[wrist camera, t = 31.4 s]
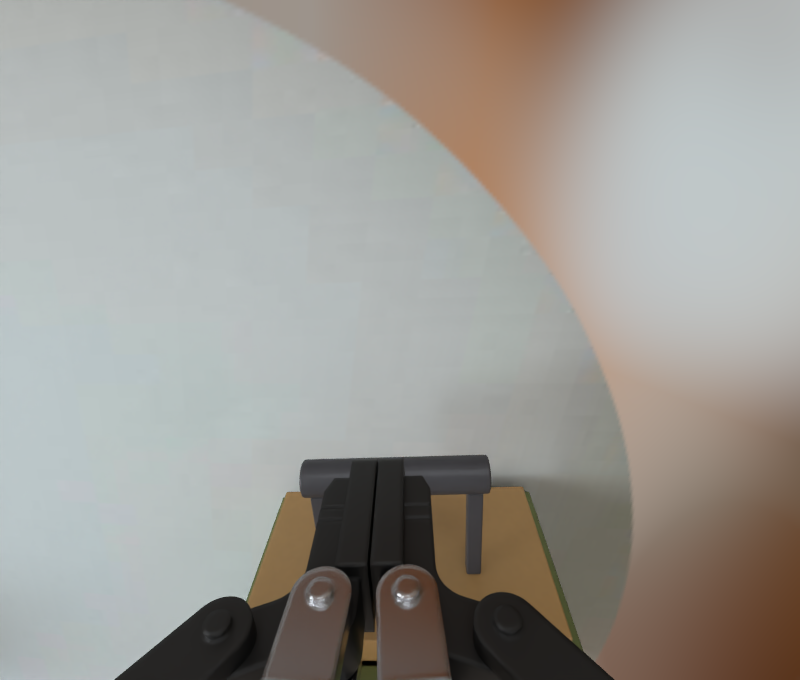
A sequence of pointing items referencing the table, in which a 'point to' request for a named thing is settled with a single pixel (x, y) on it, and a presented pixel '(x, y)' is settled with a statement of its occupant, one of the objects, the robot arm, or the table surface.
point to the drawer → (453, 536)
